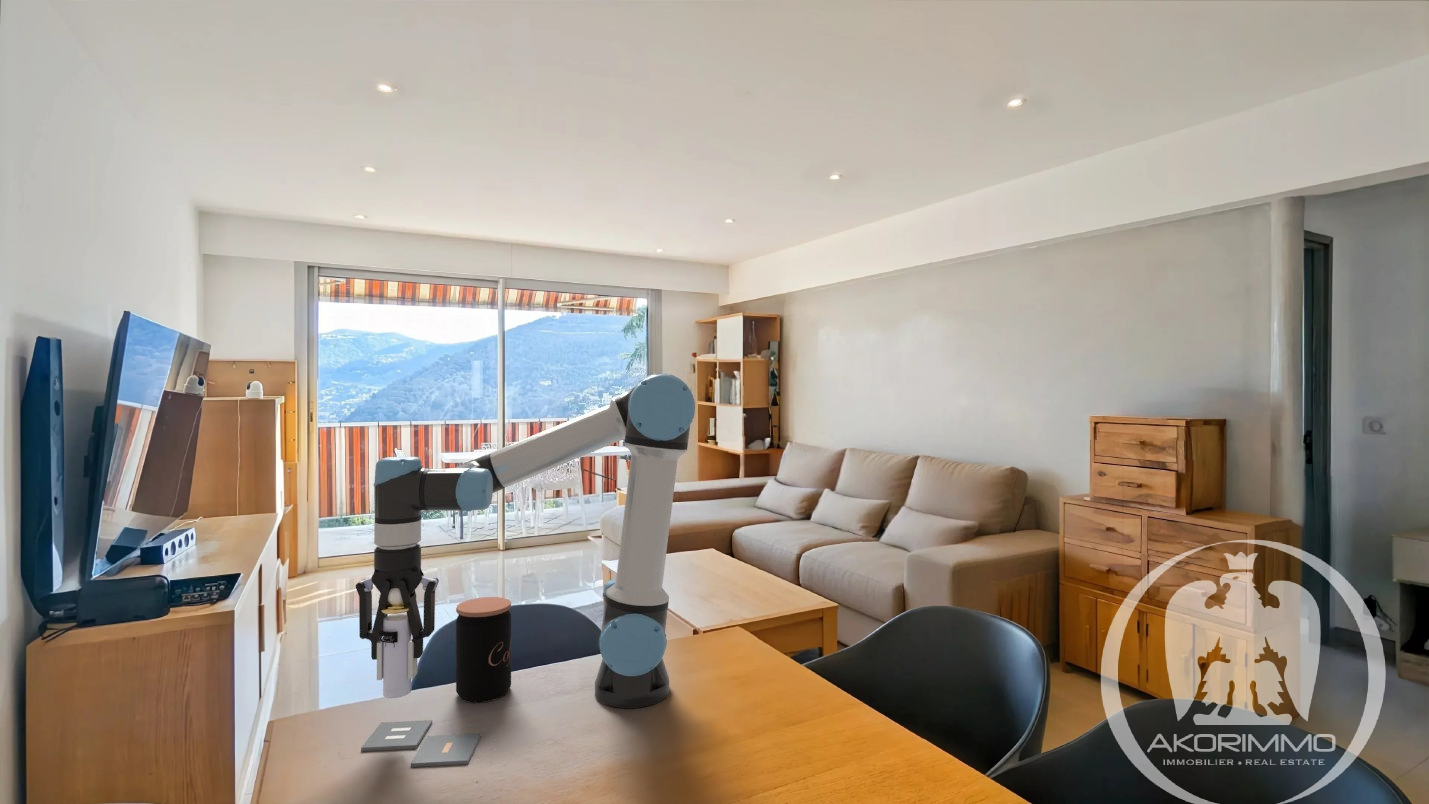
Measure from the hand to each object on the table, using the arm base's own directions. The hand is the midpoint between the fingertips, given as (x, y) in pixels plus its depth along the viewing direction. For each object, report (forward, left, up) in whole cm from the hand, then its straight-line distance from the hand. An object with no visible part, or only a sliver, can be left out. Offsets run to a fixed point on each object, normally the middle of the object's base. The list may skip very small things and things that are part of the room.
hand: (397, 676), depth 121 cm
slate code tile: (0, 0, -11) cm, 11 cm away
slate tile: (-10, +6, -11) cm, 16 cm away
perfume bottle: (0, 0, -4) cm, 4 cm away
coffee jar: (-11, -17, -11) cm, 23 cm away
